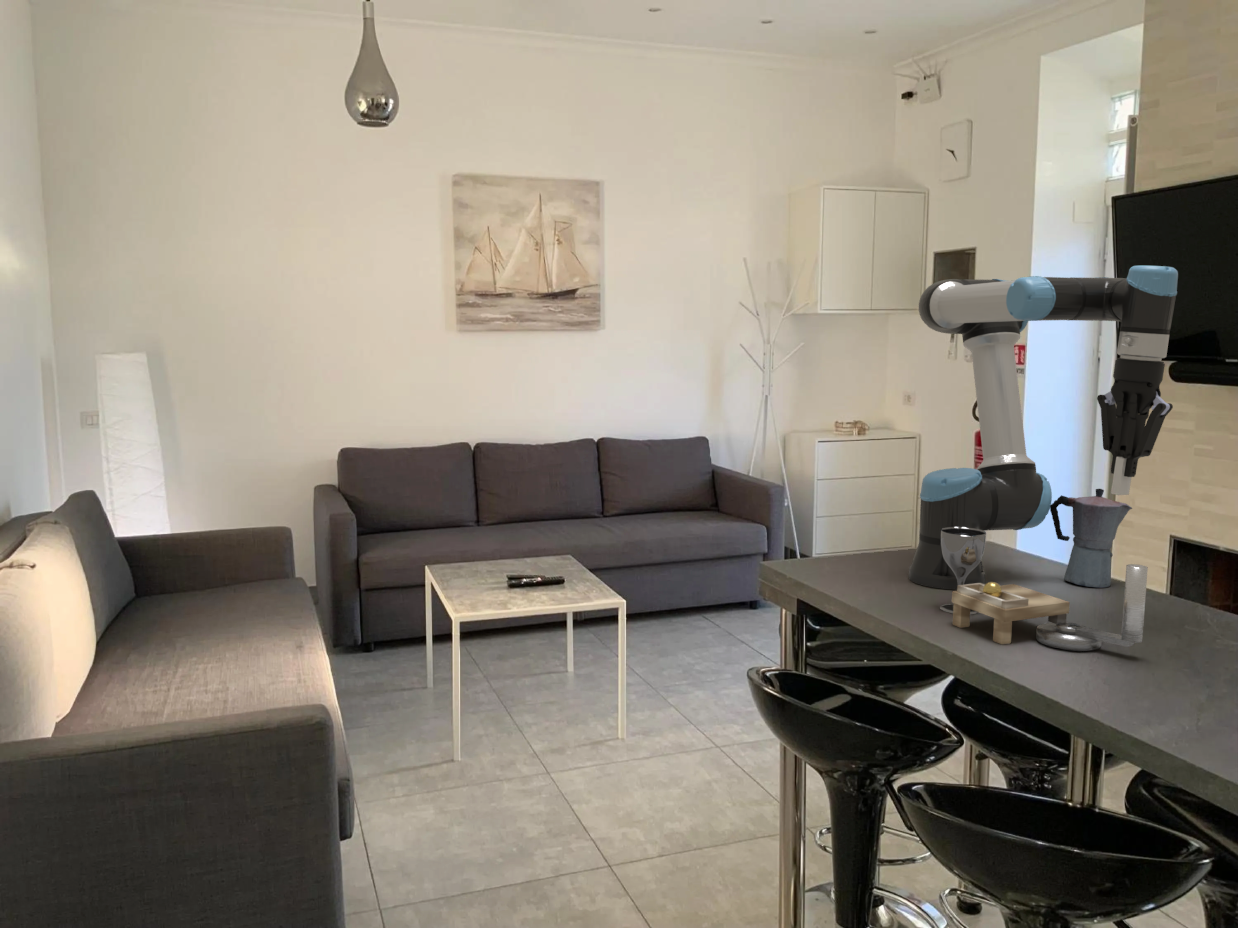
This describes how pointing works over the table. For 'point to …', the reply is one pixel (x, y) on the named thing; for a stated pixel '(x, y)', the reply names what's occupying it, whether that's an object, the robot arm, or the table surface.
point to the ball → (992, 589)
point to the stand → (1006, 607)
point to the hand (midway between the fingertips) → (1119, 493)
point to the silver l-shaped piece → (1090, 639)
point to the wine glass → (962, 553)
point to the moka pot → (1090, 537)
